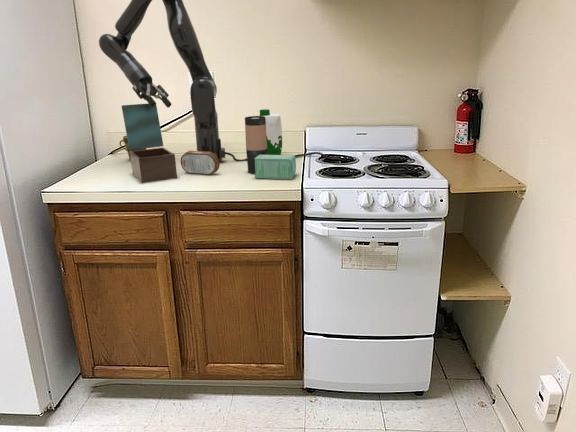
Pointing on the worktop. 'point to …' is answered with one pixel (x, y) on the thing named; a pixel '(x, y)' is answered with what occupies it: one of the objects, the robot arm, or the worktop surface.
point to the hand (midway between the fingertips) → (162, 105)
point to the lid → (142, 126)
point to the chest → (153, 165)
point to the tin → (200, 162)
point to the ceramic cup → (128, 146)
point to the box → (275, 166)
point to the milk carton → (273, 132)
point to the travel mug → (255, 139)
